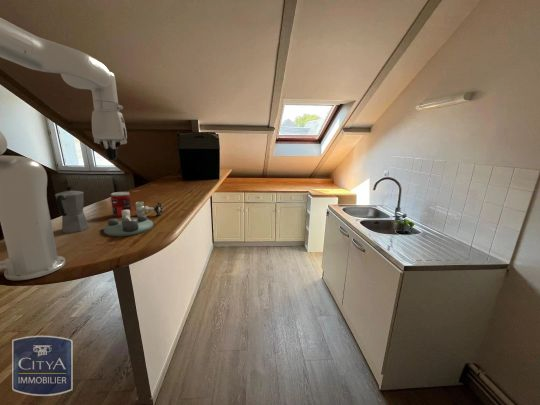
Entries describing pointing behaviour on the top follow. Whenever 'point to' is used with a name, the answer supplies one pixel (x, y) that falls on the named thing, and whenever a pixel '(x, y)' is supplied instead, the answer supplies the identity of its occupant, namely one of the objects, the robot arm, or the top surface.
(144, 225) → the instrument base
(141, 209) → the valve
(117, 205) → the canned food
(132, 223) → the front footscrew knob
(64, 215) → the coffeepot
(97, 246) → the top surface
